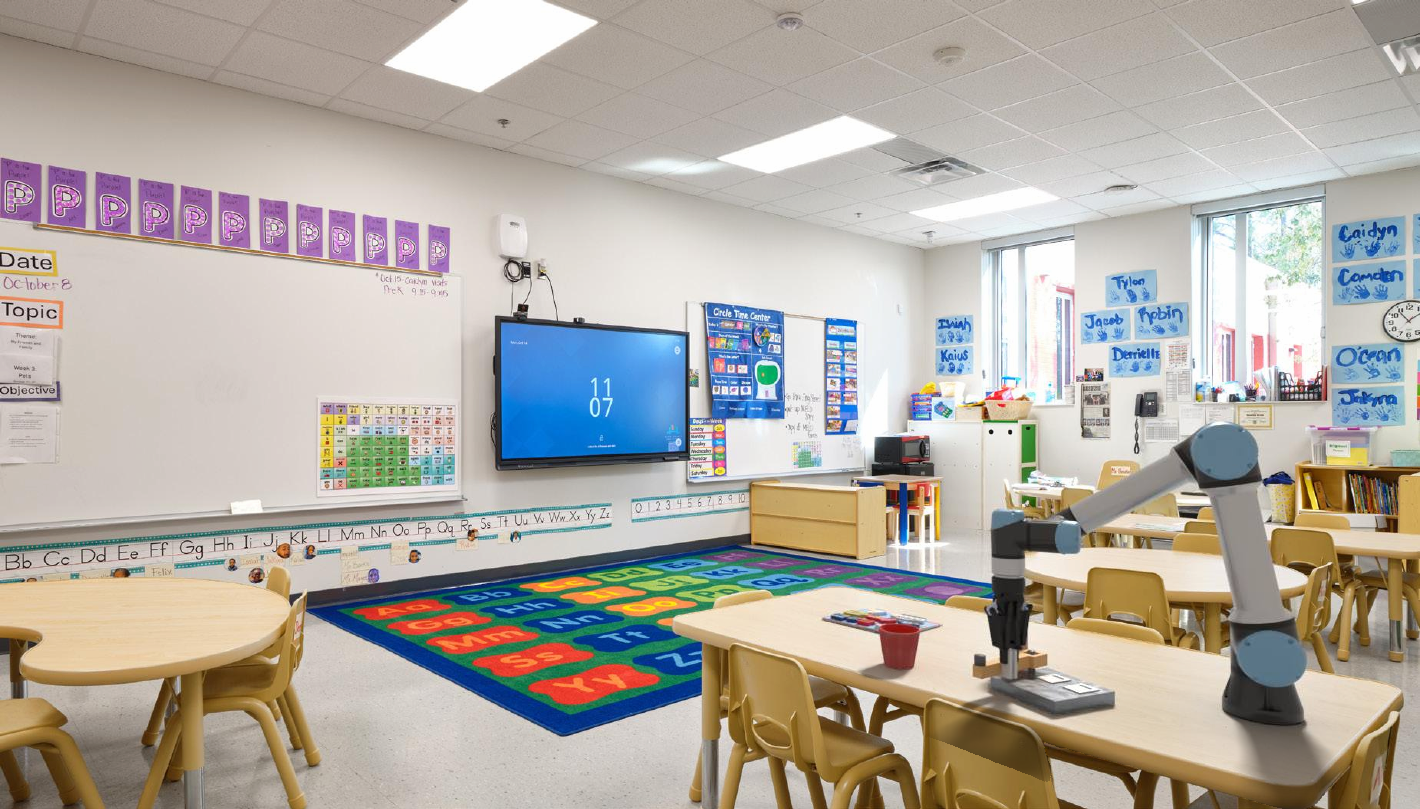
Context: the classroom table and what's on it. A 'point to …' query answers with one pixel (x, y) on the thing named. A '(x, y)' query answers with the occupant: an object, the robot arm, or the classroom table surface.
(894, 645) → the flower pot
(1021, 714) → the classroom table surface
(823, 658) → the classroom table surface
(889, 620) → the puzzle board
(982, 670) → the bar
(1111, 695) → the board
